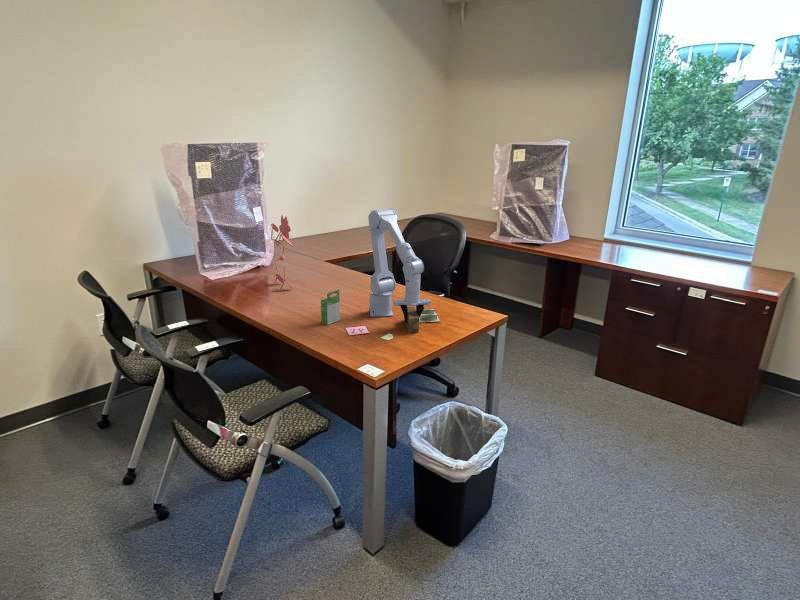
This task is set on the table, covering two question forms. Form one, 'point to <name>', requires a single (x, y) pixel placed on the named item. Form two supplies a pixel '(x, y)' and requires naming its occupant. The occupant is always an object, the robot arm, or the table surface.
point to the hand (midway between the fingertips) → (411, 322)
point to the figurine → (285, 237)
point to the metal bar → (412, 320)
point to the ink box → (330, 308)
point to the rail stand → (428, 316)
